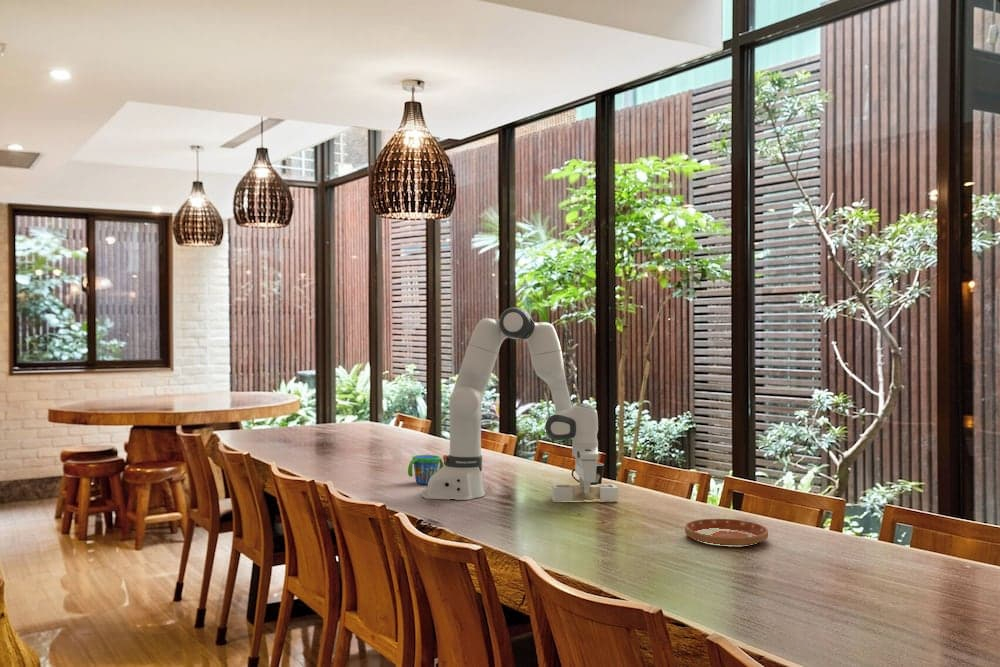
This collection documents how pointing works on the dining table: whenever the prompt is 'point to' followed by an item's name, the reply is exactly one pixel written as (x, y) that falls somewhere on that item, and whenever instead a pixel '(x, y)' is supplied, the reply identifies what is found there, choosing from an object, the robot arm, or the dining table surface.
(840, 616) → the dining table surface
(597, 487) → the slat
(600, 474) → the coffee mug
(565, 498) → the endcaps
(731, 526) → the saucer
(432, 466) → the snack cup
